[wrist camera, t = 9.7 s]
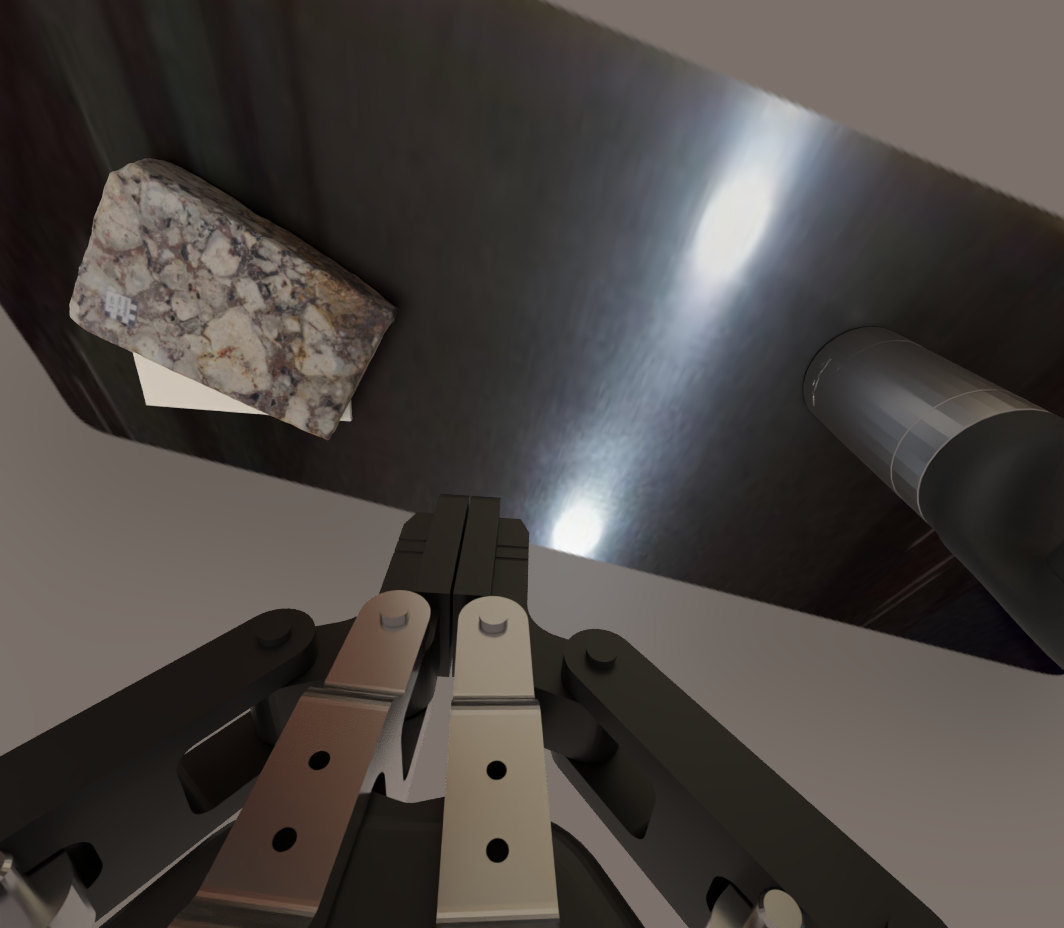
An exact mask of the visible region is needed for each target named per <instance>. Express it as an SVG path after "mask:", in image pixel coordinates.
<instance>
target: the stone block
mask: <svg viewBox="0 0 1064 928" xmlns="http://www.w3.org/2000/svg"><path fill="white" fill-rule="evenodd" d="M398 310H399V308H397V307H394V306H393V305H392V304H391V303H390V302H388V301H387V300H385V299H384V298H383V297H382V296H381V295H380V294H379V293H378V292H377V291H375V290H374V289H372V288H371V287H370V286H369V285H367V284H366V283H365V282H363V281H362V280H361V279H360V278H358V277H357V276H356V275H354V274H352V273H350V272H349V271H347V270H346V269H344V268H343V267H341V266H340V265H339V264H337V263H336V262H335V261H333V260H332V259H330V258H328V257H327V256H325V255H323V254H322V253H321V252H319V251H317V250H316V249H314V248H313V247H312V246H310V245H308V244H307V243H305V242H304V241H302V240H301V239H300V238H298V237H296V236H295V235H293V234H292V233H291V232H289V231H287V230H285V229H283V228H281V227H279V226H277V225H276V224H274V223H272V222H271V221H269V220H267V219H265V218H262V217H260V216H258V215H256V214H255V213H253V212H252V211H251V210H249V209H248V208H247V207H246V206H244V205H243V204H241V203H240V202H239V201H237V200H236V199H234V198H233V197H232V196H230V195H228V194H226V193H224V192H222V191H221V190H219V189H217V188H216V187H214V186H212V185H211V184H209V183H207V182H206V181H204V180H203V179H201V178H199V177H197V176H195V175H194V174H192V173H190V172H188V171H187V170H185V169H183V168H181V167H179V166H177V165H174V164H172V163H169V162H166V161H162V160H156V159H151V158H146V159H143V160H140V161H136V162H135V163H130V164H128V165H126V166H125V167H124V168H121V169H119V170H118V171H113V172H111V173H110V174H109V177H108V180H107V183H106V185H105V187H104V191H103V196H102V199H101V202H100V204H99V206H98V209H97V211H96V214H95V216H94V221H93V227H92V235H91V237H90V241H89V246H88V248H87V250H86V252H85V255H84V258H83V261H82V264H81V266H79V273H78V279H77V281H76V284H75V288H74V293H73V296H72V298H71V301H70V317H71V318H72V319H73V320H74V321H75V322H76V323H77V324H78V325H79V326H81V327H82V328H84V329H85V330H87V331H89V332H91V333H92V334H95V335H97V336H99V337H101V338H103V339H105V340H107V341H109V342H111V343H114V344H116V345H118V346H120V347H123V348H125V349H127V350H129V351H131V352H134V353H137V354H139V355H141V356H142V357H144V358H146V359H148V360H151V361H153V362H155V363H157V364H159V365H161V366H163V367H165V368H167V369H169V370H171V371H173V372H176V373H178V374H180V375H183V376H185V377H187V378H190V379H192V380H194V381H197V382H199V383H201V384H203V385H205V386H207V387H209V388H212V389H214V390H216V391H218V392H220V393H222V394H224V395H227V396H229V397H231V398H232V399H234V400H237V401H240V402H242V403H244V404H246V405H248V406H250V407H252V408H255V409H257V410H259V411H262V412H264V413H266V414H268V415H270V416H273V417H275V418H277V419H280V420H282V421H284V422H287V423H290V424H292V425H294V426H296V427H298V428H300V429H301V430H304V431H307V432H309V433H311V434H314V435H316V436H319V437H322V438H324V439H326V440H329V439H330V437H331V435H332V434H333V432H334V431H335V429H336V427H337V425H338V423H339V421H340V419H341V417H342V415H343V413H344V411H345V410H346V408H347V406H348V404H349V402H350V400H351V398H352V396H353V395H354V393H355V391H356V389H357V387H358V385H359V383H360V381H361V379H362V377H363V375H364V373H365V371H366V369H367V367H368V365H369V363H370V361H371V359H372V357H374V355H375V351H376V349H377V347H378V345H379V343H380V341H381V339H382V337H383V335H384V333H385V332H386V330H387V329H388V327H389V326H390V325H391V323H392V322H393V321H394V319H395V318H396V315H397V312H398Z"/></svg>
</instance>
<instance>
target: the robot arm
mask: <svg viewBox="0 0 1064 928" xmlns="http://www.w3.org/2000/svg"><path fill="white" fill-rule="evenodd" d="M803 395H804V399H805V403H806V405H807V407H808V408H809V410H810V412H811V413H812V414H813V415H814V416H815V417H816V418H817V419H819V420H820V421H821V422H822V423H823V424H824V425H825V426H826V427H827V428H828V429H829V430H830V431H831V432H832V433H833V434H834V435H835V436H836V437H837V438H838V439H839V440H840V441H841V442H842V443H843V444H844V445H845V446H846V447H847V448H849V449H850V450H851V451H852V452H853V453H854V454H855V455H856V456H857V457H858V458H859V459H860V460H861V461H862V462H863V463H864V464H865V465H866V466H867V467H869V468H870V469H871V470H872V471H873V472H874V473H875V474H876V475H877V476H878V477H879V478H880V479H881V480H882V481H883V482H884V483H885V484H886V485H887V486H889V487H890V488H891V489H892V490H893V491H894V492H895V493H896V494H897V495H898V496H899V497H900V498H901V499H903V500H904V501H905V502H906V503H907V504H908V505H909V506H910V507H911V508H912V509H913V510H914V511H915V512H916V513H917V514H918V515H919V516H920V517H922V518H923V519H924V520H925V521H926V522H927V523H928V524H929V525H930V526H931V527H932V528H933V529H934V530H935V531H936V532H937V534H938V536H939V537H940V539H941V541H942V542H943V543H944V545H945V546H946V547H947V548H948V549H949V550H950V551H951V552H952V553H953V555H954V556H955V557H956V558H957V559H958V560H959V561H960V562H961V563H962V564H963V565H964V566H965V567H966V568H967V569H968V570H969V571H970V572H971V573H972V574H973V575H974V576H975V577H976V578H977V579H978V580H979V581H980V582H981V583H982V585H983V586H984V587H985V588H986V589H987V590H988V591H989V592H990V593H991V594H992V596H993V597H994V598H995V599H996V600H997V601H998V602H999V603H1000V604H1001V606H1002V607H1003V608H1004V609H1005V610H1006V611H1007V612H1008V613H1009V615H1010V616H1011V617H1012V618H1013V619H1014V620H1015V621H1016V622H1017V623H1018V625H1019V626H1020V627H1021V628H1022V629H1023V630H1024V631H1025V632H1026V633H1027V634H1028V635H1029V636H1030V637H1031V638H1032V639H1033V640H1034V641H1035V642H1036V644H1037V645H1038V646H1039V647H1040V648H1041V649H1042V650H1043V651H1044V652H1045V653H1046V654H1047V655H1048V656H1049V657H1050V658H1051V659H1052V660H1053V661H1055V662H1056V663H1057V664H1058V665H1059V666H1060V667H1061V668H1062V669H1063V670H1064V419H1063V418H1061V417H1059V416H1057V415H1055V414H1052V413H1050V412H1048V411H1047V410H1045V409H1043V408H1041V407H1039V406H1037V405H1035V404H1033V403H1031V402H1029V401H1027V400H1025V399H1023V398H1021V397H1019V396H1017V395H1015V394H1013V393H1011V392H1009V391H1007V390H1005V389H1003V388H1001V387H999V386H997V385H995V384H994V383H992V382H990V381H988V380H986V379H984V378H982V377H980V376H978V375H976V374H974V373H972V372H970V371H968V370H966V369H964V368H963V367H961V366H959V365H957V364H955V363H953V362H951V361H949V360H947V359H945V358H943V357H941V356H939V355H937V354H935V353H933V352H932V351H930V350H928V349H926V348H924V347H922V346H920V345H918V344H917V343H915V342H913V341H911V340H909V339H907V338H905V337H903V336H901V335H899V334H897V333H895V332H893V331H891V330H888V329H885V328H880V327H863V328H858V329H854V330H851V331H848V332H846V333H844V334H842V335H840V336H838V337H836V338H835V339H833V340H832V341H831V342H829V343H828V344H827V345H825V346H824V348H823V349H822V350H821V351H820V352H819V353H818V354H817V355H816V356H815V358H814V359H813V361H812V362H811V364H810V366H809V368H808V370H807V372H806V375H805V380H804V384H803ZM500 511H501V498H495V497H480V496H472V498H471V503H470V496H464V495H449V494H440V496H439V499H438V503H437V506H436V510H435V513H434V514H432V513H416V514H415V515H414V516H413V517H412V518H411V519H409V520H408V521H407V522H406V523H405V524H404V526H403V528H402V531H401V534H400V537H399V541H398V542H397V545H396V548H395V553H394V554H393V557H392V559H391V562H390V565H389V568H388V571H387V573H386V576H385V579H384V582H383V584H382V588H381V590H380V593H379V594H378V595H376V596H374V597H373V598H371V599H370V600H368V601H367V602H366V603H365V604H364V605H363V607H362V608H361V610H360V612H359V614H358V616H357V617H354V618H352V619H349V620H346V621H342V622H338V623H332V624H326V625H321V626H315V624H314V622H313V620H312V618H311V617H310V616H309V615H308V614H306V613H305V612H302V611H300V610H296V609H276V610H272V611H268V612H265V613H262V614H260V615H258V616H256V617H254V618H252V619H250V620H248V621H247V622H245V623H243V624H241V625H239V626H238V627H236V628H234V629H232V630H230V631H229V632H227V633H225V634H223V635H221V636H219V637H217V638H216V639H214V640H212V641H210V642H209V643H206V644H205V645H203V646H201V647H199V648H197V649H196V650H194V651H192V652H190V653H189V654H186V655H185V656H183V657H181V658H179V659H177V660H175V661H174V662H172V663H170V664H168V665H166V666H165V667H163V668H161V669H159V670H157V671H155V672H153V673H152V674H150V675H148V676H146V677H144V678H143V679H141V680H139V681H137V682H135V683H134V684H132V685H130V686H128V687H126V688H124V689H123V690H121V691H119V692H117V693H115V694H114V695H111V696H110V697H108V698H106V699H104V700H102V701H101V702H99V703H97V704H95V705H93V706H92V707H90V708H88V709H86V710H84V711H82V712H80V713H79V714H77V715H75V716H73V717H71V718H69V719H68V720H66V721H64V722H62V723H60V724H59V725H57V726H55V727H53V728H51V729H49V730H48V731H46V732H44V733H42V734H40V735H38V736H37V737H35V738H33V739H31V740H29V741H28V742H26V743H24V744H22V745H20V746H18V747H16V748H15V749H13V750H11V751H9V752H7V753H6V754H4V755H2V756H0V928H93V926H94V923H95V922H96V921H98V920H99V919H100V918H101V917H103V916H104V915H105V914H107V913H108V912H109V911H110V910H112V909H113V908H114V907H115V906H117V905H118V904H119V903H121V902H122V901H123V900H125V899H126V898H127V897H128V896H130V895H131V894H132V893H134V892H135V891H136V890H137V889H138V888H140V887H141V886H143V885H144V884H145V883H146V882H148V881H149V880H150V879H151V878H153V877H154V876H155V875H157V874H158V873H159V872H160V871H161V870H163V869H164V868H165V867H167V866H168V865H169V864H171V863H172V862H173V861H175V860H176V859H177V858H178V857H180V856H181V855H182V854H184V853H185V852H186V851H187V850H189V849H190V848H191V847H192V846H194V845H195V844H196V843H198V842H199V841H200V840H201V839H203V838H204V837H205V836H207V835H208V834H209V833H210V832H212V831H213V830H214V829H216V828H217V827H218V826H219V825H221V824H222V823H223V822H225V821H226V820H227V819H228V818H230V817H231V816H232V815H234V814H235V813H236V812H237V811H238V810H240V809H241V808H242V810H241V811H240V813H239V815H238V817H237V819H236V820H234V821H232V822H231V823H229V824H227V825H226V826H224V827H223V828H221V829H220V830H219V831H217V832H215V833H214V834H212V835H211V836H210V837H209V838H207V839H206V840H205V841H203V842H202V843H201V844H200V845H199V846H197V847H196V848H195V849H194V850H193V851H191V852H190V853H189V854H188V855H186V856H185V857H184V858H183V859H182V860H180V861H179V862H178V863H177V864H175V865H174V866H173V867H172V868H171V869H169V870H168V871H167V872H166V873H165V874H163V875H162V876H161V877H160V878H158V879H157V880H156V881H155V882H154V883H152V884H151V885H150V886H149V887H148V888H146V889H145V890H144V891H143V892H142V893H140V894H139V895H138V896H137V897H135V898H134V899H133V900H132V901H131V902H129V903H128V904H127V905H126V906H125V907H123V908H122V909H121V910H120V911H119V912H117V913H116V914H115V915H114V916H112V917H111V918H110V919H109V920H107V922H105V923H104V924H103V925H101V926H100V927H99V928H645V927H644V926H643V924H642V923H641V921H640V920H639V919H638V917H637V916H636V915H635V913H634V912H633V910H632V909H631V908H630V906H629V905H628V903H627V902H626V900H625V899H624V898H623V896H622V895H621V894H620V892H619V891H618V889H617V888H616V887H615V885H614V884H613V882H612V881H611V879H610V878H609V877H608V875H607V874H606V873H605V871H604V870H603V868H602V867H601V865H600V864H599V863H598V861H597V860H596V859H595V858H594V856H593V855H592V854H591V853H590V852H589V851H588V850H587V848H586V847H585V846H584V845H583V844H582V843H581V842H579V841H578V840H577V839H576V838H575V837H574V836H573V835H571V834H570V833H569V832H567V831H566V830H564V829H563V828H561V827H560V826H558V825H557V824H555V823H553V822H551V821H550V811H549V800H548V789H547V778H546V767H545V756H544V748H546V749H548V750H551V754H552V757H553V759H554V762H555V763H556V764H557V766H558V768H559V769H560V770H561V771H562V772H563V774H564V775H565V776H566V777H567V778H568V780H569V781H570V782H571V783H572V785H573V786H574V787H575V788H576V790H577V791H578V792H579V793H580V795H581V796H582V797H583V798H584V799H585V801H586V802H587V803H588V804H589V806H590V807H591V808H592V809H593V810H594V812H595V813H596V814H597V815H598V816H599V818H600V819H601V820H602V822H603V823H604V824H605V825H606V827H607V828H608V829H609V830H610V831H611V833H612V834H613V835H614V836H615V838H616V839H617V840H618V841H619V842H620V844H621V845H622V846H623V847H624V849H625V850H626V851H627V852H628V853H629V855H630V856H631V857H632V858H633V860H634V861H635V862H636V863H637V865H638V866H639V867H640V868H641V869H642V871H643V872H644V873H645V874H646V876H647V877H648V878H649V879H650V880H651V882H652V883H653V884H654V885H655V887H656V888H657V889H658V890H659V892H660V893H661V894H662V895H663V896H664V898H665V899H666V900H667V901H668V903H669V904H670V905H671V906H672V908H673V909H674V910H675V911H676V913H677V914H678V915H679V916H680V917H681V919H682V920H683V921H684V922H685V924H686V925H687V926H688V927H689V928H948V927H947V926H946V925H945V924H944V923H943V921H942V920H941V919H940V918H939V917H938V916H937V915H936V914H935V913H934V912H933V911H932V910H931V909H930V908H928V907H927V906H926V905H925V904H924V903H923V902H922V901H920V900H919V899H918V898H917V897H916V896H915V895H913V893H911V892H910V891H909V890H908V889H907V888H906V887H905V886H903V885H902V884H901V883H900V882H899V881H898V880H897V879H896V878H894V877H893V876H892V875H891V874H890V873H889V872H888V871H886V870H885V869H884V868H883V867H882V866H881V865H880V864H879V863H877V862H876V861H875V860H874V859H873V858H872V857H871V856H870V855H868V854H867V853H866V852H865V851H864V850H863V849H862V848H860V847H859V846H858V845H857V844H856V843H855V842H854V841H853V840H851V839H850V838H849V837H848V836H847V835H846V834H845V833H843V832H842V831H841V830H840V829H839V828H838V827H837V826H836V825H834V824H833V823H832V822H831V821H830V820H829V819H827V817H825V816H824V815H823V814H822V813H821V812H819V810H817V809H816V808H815V807H814V806H813V805H812V804H811V803H809V802H808V801H807V800H806V799H805V798H804V797H803V796H802V795H800V794H799V793H798V792H797V791H796V790H795V789H794V788H792V787H791V786H790V785H789V784H788V783H787V782H786V781H785V780H784V779H782V778H781V777H780V776H779V775H778V774H777V773H776V772H774V771H773V770H772V769H771V768H770V767H769V766H767V764H765V763H764V762H763V761H762V760H761V759H759V757H757V756H756V755H755V754H754V753H753V752H752V751H751V750H750V749H748V748H747V747H746V746H745V745H744V744H743V743H741V742H740V741H739V740H738V739H737V738H736V737H735V736H734V735H732V734H731V733H730V732H729V731H728V730H727V729H726V728H725V727H723V726H722V725H721V724H720V723H719V722H718V721H717V720H716V719H714V718H713V717H712V716H711V715H710V714H709V713H708V712H707V711H705V710H704V709H703V708H702V707H701V706H700V705H699V704H697V703H696V702H695V701H694V700H693V699H691V697H690V696H688V695H687V694H686V693H685V692H684V691H683V690H681V689H680V688H679V687H678V686H677V685H676V684H674V682H673V681H671V680H670V679H669V678H668V677H667V676H666V675H664V674H663V673H662V672H661V671H660V670H659V669H658V668H657V667H655V666H654V665H653V664H652V663H651V662H650V661H649V660H648V659H647V658H645V657H644V656H643V655H642V654H641V653H640V652H639V651H637V650H636V649H635V648H634V647H633V646H632V645H631V644H630V643H628V642H627V641H626V640H625V639H623V638H622V637H620V636H619V635H617V634H615V633H612V632H610V631H606V630H601V629H588V630H583V631H580V632H578V633H576V634H575V635H573V636H572V637H571V638H570V639H569V640H568V639H565V638H562V637H559V636H556V635H553V634H551V633H548V632H547V631H545V630H543V629H542V628H540V627H539V626H538V625H537V624H536V623H535V622H534V621H533V620H532V618H531V616H530V615H529V612H528V609H527V592H528V591H527V590H528V551H529V550H528V548H529V532H528V530H527V529H526V527H525V525H524V524H523V522H522V521H521V519H507V518H500ZM452 661H453V662H452ZM451 663H453V664H452V677H454V691H453V700H452V703H451V715H450V731H449V745H448V759H447V774H446V788H445V797H441V798H436V799H431V800H426V801H421V802H417V803H407V798H408V793H409V789H410V785H411V782H412V778H413V774H414V771H415V767H416V763H417V760H418V756H419V753H420V749H421V746H422V742H423V739H424V735H425V731H426V727H427V724H428V720H429V717H430V713H431V709H432V698H433V695H434V691H435V686H436V681H437V676H442V677H449V674H450V669H451ZM249 708H250V710H251V711H249V712H248V713H246V714H245V715H243V716H242V717H240V718H239V719H237V720H236V721H234V722H233V723H231V724H230V725H228V726H227V727H225V728H224V729H222V730H221V731H219V732H218V733H216V734H215V735H213V736H212V737H210V738H209V739H207V740H206V741H204V742H203V743H201V744H200V745H198V746H197V747H195V748H194V749H192V750H191V751H189V752H188V753H186V752H187V751H188V750H189V749H190V748H191V747H192V746H194V745H195V744H196V743H198V742H199V741H201V740H202V739H204V738H205V737H207V736H208V735H210V734H211V733H213V732H214V731H216V730H218V729H219V728H220V727H222V726H224V725H225V724H227V723H228V722H229V721H231V720H233V719H234V718H236V717H237V716H239V715H240V714H242V713H243V712H245V711H246V710H248V709H249ZM185 753H186V754H185ZM184 754H185V755H184Z"/></svg>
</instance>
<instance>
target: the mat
mask: <svg viewBox="0 0 1064 928" xmlns="http://www.w3.org/2000/svg"><path fill="white" fill-rule="evenodd" d="M133 355H134V359H135V363H136V366H137V370H138V374H139V378H140V382H141V386H142V389H143V393H144V397H145V401H146V405H152V406H165V407H178V408H190V409H203V410H215V411H228V412H240V413H253V414H266V413H264V412H262V411H259V410H257V409H255V408H252V407H250V406H248V405H246V404H244V403H242V402H240V401H237V400H234V399H232V398H231V397H229V396H227V395H224V394H222V393H220V392H218V391H216V390H214V389H212V388H209V387H207V386H205V385H203V384H201V383H199V382H197V381H194V380H192V379H190V378H187V377H185V376H183V375H180V374H178V373H176V372H173V371H171V370H169V369H167V368H165V367H163V366H161V365H159V364H157V363H155V362H153V361H151V360H148V359H146V358H144V357H142V356H141V355H139V354H137V353H134V352H133ZM266 415H268V414H266ZM340 420H341V421H351V420H352V408H351V400H350V402H349V404H348V406H347V408H346V410H345V411H344V413H343V415H342V417H341V419H340Z"/></svg>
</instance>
